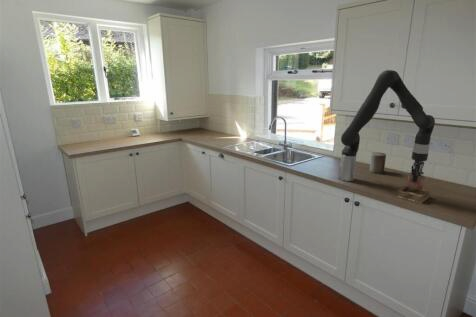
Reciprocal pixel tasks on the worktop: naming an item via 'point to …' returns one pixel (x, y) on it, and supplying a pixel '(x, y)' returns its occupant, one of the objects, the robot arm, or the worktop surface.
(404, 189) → the walnut holder
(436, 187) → the worktop surface
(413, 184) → the lighter
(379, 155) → the pillar candle
